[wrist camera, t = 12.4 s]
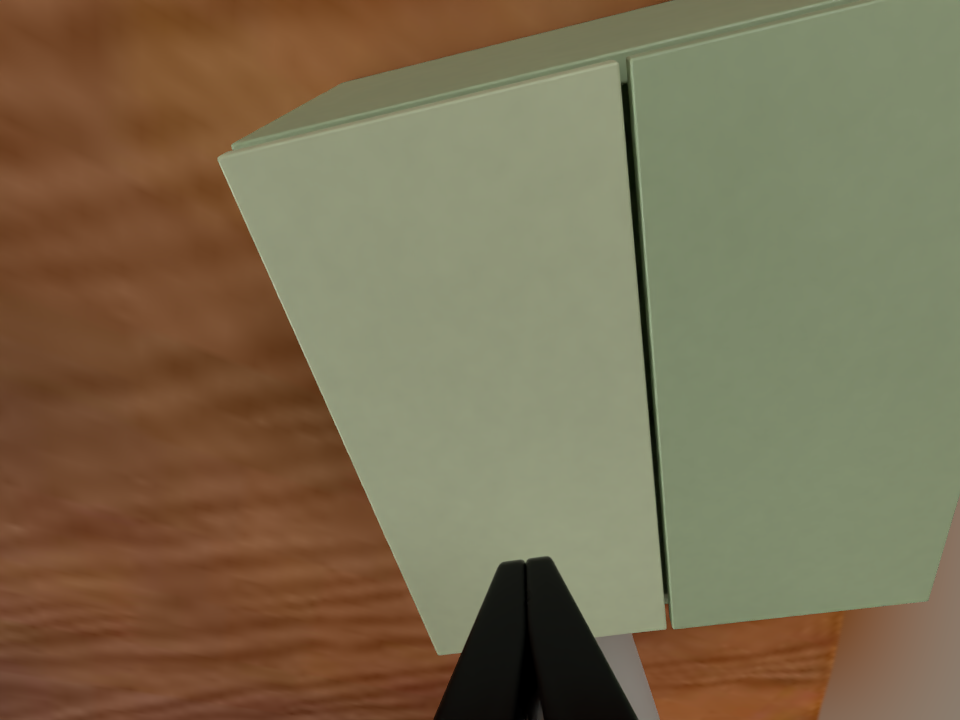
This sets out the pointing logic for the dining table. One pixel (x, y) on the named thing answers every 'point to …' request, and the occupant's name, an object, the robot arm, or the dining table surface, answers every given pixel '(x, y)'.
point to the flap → (477, 335)
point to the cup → (629, 673)
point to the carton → (773, 281)
